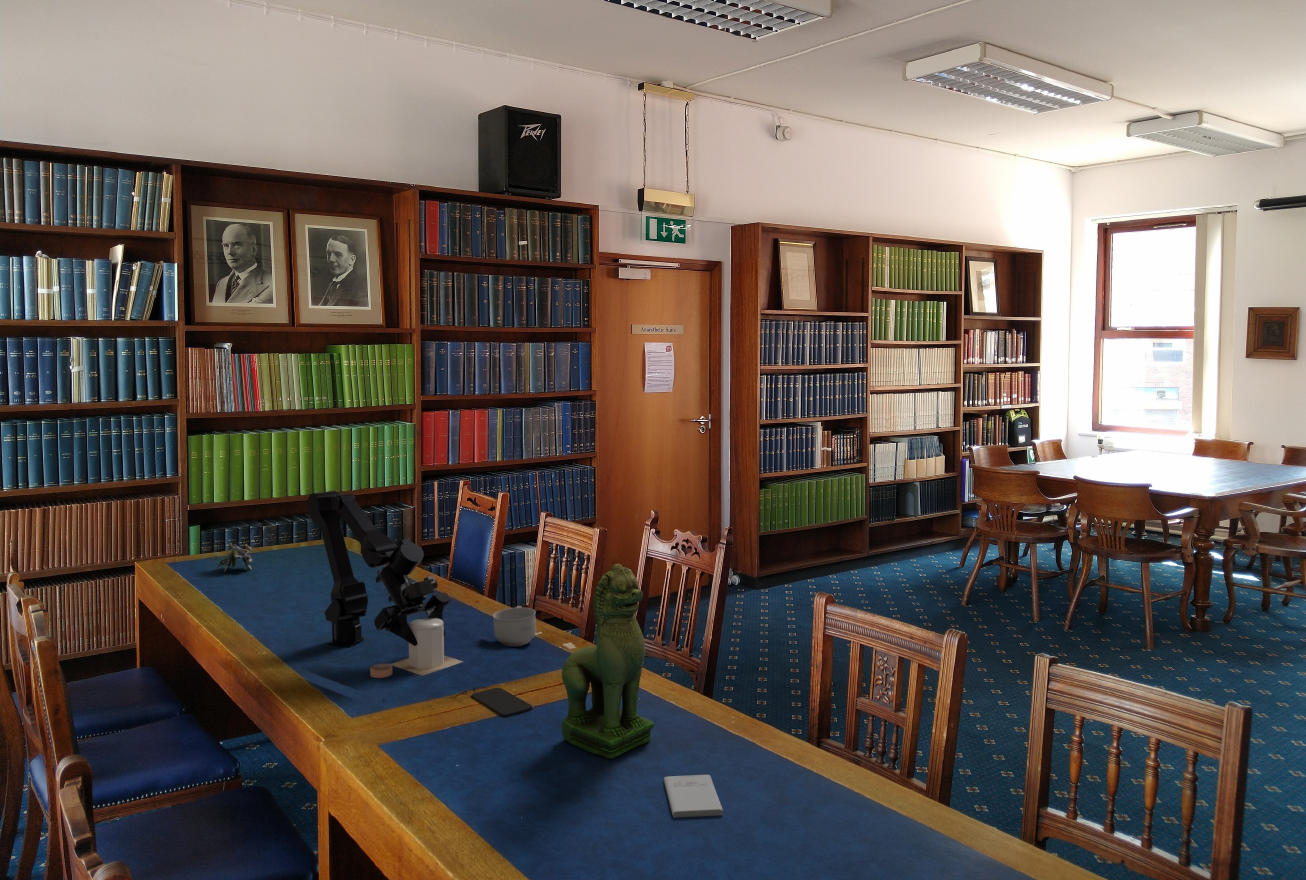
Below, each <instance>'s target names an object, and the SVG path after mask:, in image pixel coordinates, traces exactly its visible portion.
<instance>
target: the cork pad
mask: <svg viewBox="0 0 1306 880" xmlns="http://www.w3.org/2000/svg"><path fill="white" fill-rule="evenodd" d="M461 663H464V661H463V660H459V659H457V658H453V657H451V656H447V655H444V661H443V665H440V666H437V667H434V668H425V669H417V668H414V667H411V666H409V657H408V658H405V659H401V660H398V661H395V662H391V663H389V664H390V665H392V667H395V668H398V669H402V670H404V671H408V672H410V673H413V674H415V675H416V674H417V675H419V676H422V677H424V676H426V675H429V674H430V675H431V674H432V673H435V672H438V671H441V670H443V669H446V668H449V667H452V666H455V665H458V664H459V665H460V664H461Z"/></svg>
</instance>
